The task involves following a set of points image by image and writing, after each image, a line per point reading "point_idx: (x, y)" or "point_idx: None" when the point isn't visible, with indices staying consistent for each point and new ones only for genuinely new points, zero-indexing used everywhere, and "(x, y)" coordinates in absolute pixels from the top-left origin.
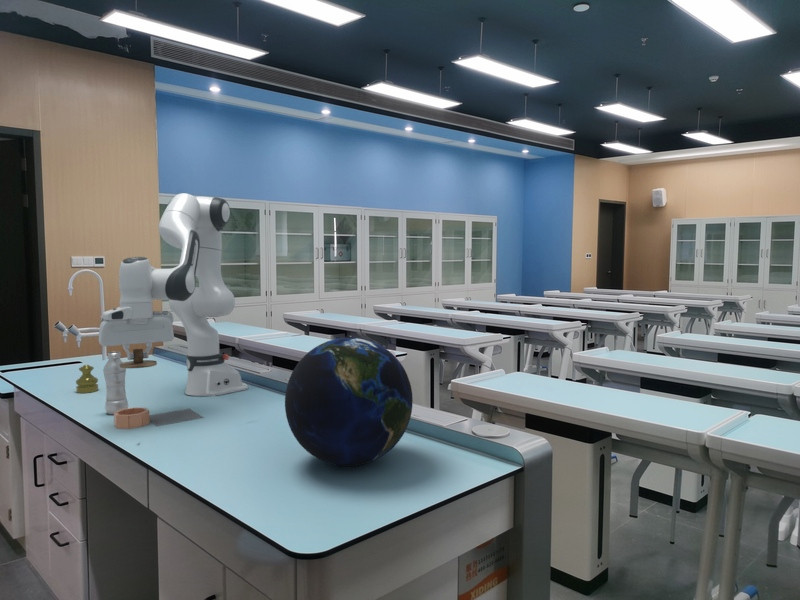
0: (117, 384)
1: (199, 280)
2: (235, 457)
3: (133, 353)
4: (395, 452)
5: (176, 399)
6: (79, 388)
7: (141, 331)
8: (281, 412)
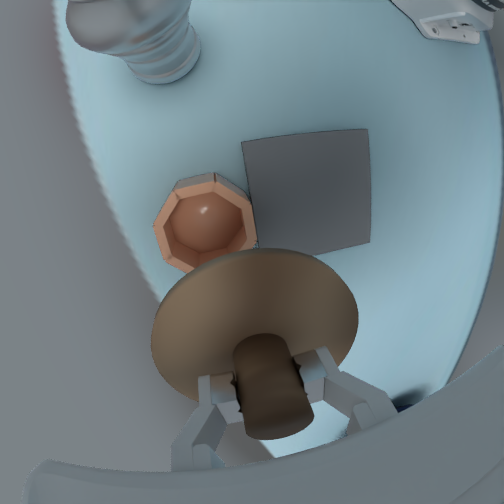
0: (150, 57)
1: None
2: (322, 407)
3: (242, 415)
4: (415, 401)
5: None
6: None
7: None
8: (460, 256)
